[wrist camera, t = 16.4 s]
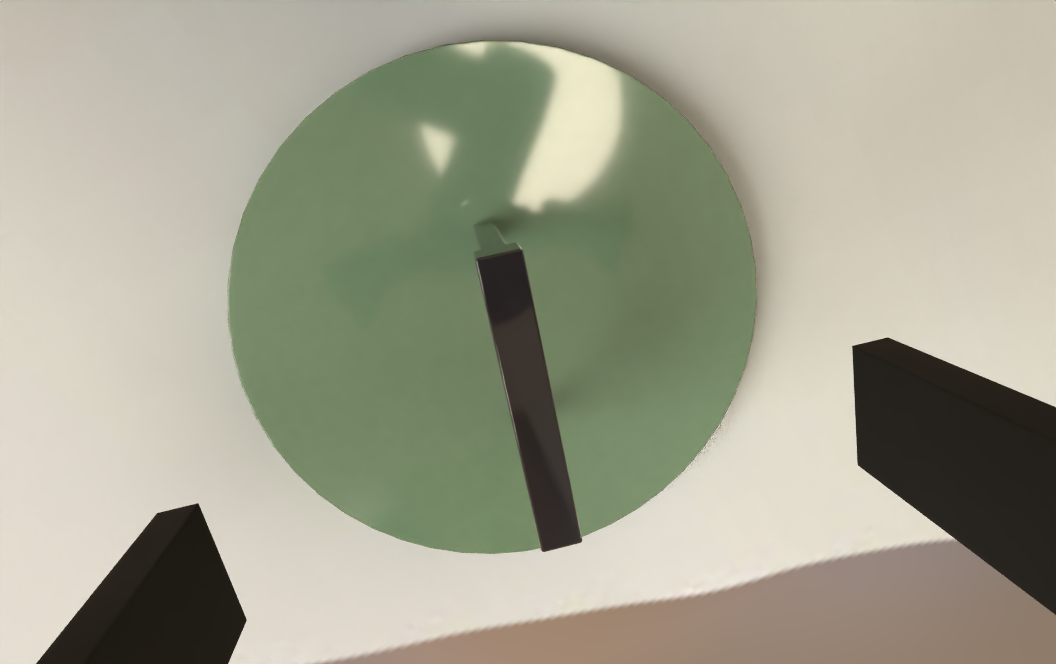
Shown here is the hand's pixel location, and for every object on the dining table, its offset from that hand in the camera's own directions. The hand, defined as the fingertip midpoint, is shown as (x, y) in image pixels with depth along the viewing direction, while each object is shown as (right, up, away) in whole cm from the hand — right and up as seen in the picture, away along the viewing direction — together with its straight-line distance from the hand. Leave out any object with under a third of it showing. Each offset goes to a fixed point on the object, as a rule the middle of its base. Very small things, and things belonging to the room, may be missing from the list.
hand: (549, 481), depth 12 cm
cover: (-1, +3, +11) cm, 11 cm away
